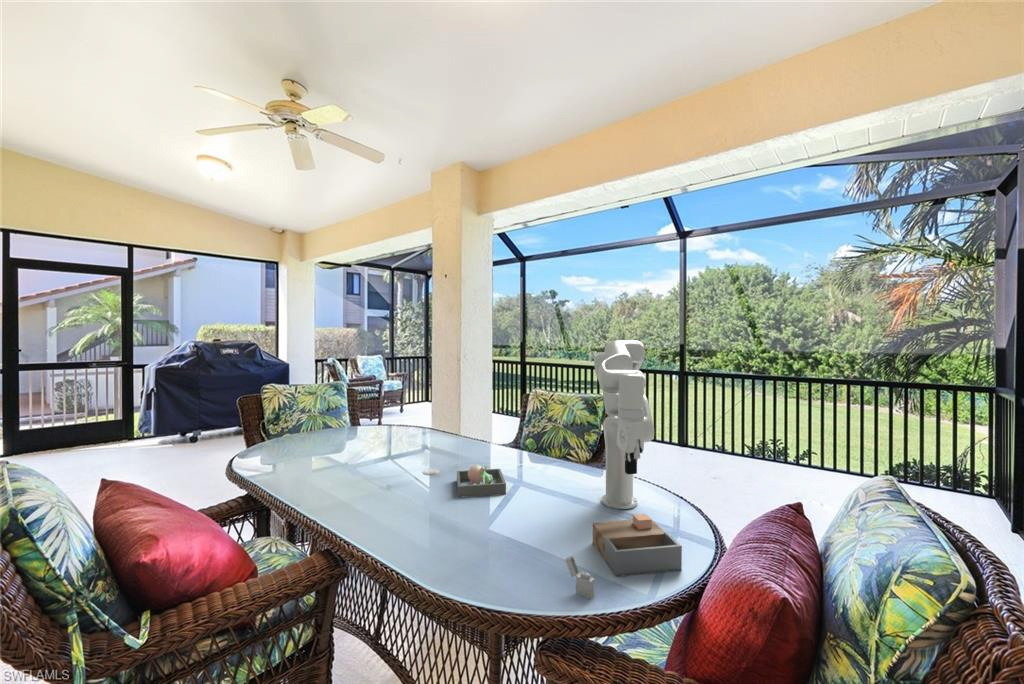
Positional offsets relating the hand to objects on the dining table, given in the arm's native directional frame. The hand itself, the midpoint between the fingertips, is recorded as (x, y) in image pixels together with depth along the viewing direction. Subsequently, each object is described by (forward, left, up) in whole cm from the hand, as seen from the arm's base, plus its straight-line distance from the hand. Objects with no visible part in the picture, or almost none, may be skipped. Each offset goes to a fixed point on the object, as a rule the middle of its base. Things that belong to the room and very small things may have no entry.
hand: (630, 473), depth 138 cm
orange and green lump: (-47, -42, -19) cm, 66 cm away
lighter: (+27, -24, -19) cm, 41 cm away
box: (+18, -4, -19) cm, 26 cm away
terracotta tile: (+8, 0, -13) cm, 15 cm away
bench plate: (+9, -4, -19) cm, 21 cm away
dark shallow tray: (-47, -42, -19) cm, 66 cm away
